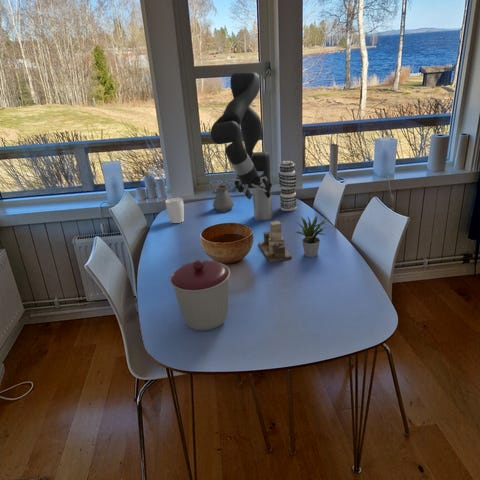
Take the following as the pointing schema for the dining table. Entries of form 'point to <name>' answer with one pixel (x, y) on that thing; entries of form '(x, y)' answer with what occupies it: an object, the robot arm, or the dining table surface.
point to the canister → (202, 293)
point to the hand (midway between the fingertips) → (259, 197)
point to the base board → (279, 250)
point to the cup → (175, 209)
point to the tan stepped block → (275, 235)
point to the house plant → (311, 236)
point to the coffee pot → (223, 199)
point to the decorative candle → (287, 186)
